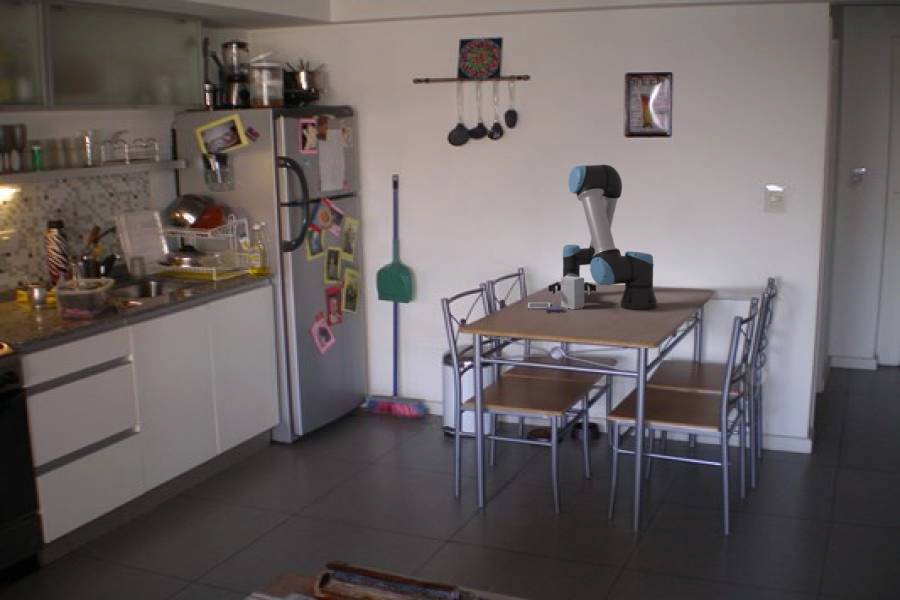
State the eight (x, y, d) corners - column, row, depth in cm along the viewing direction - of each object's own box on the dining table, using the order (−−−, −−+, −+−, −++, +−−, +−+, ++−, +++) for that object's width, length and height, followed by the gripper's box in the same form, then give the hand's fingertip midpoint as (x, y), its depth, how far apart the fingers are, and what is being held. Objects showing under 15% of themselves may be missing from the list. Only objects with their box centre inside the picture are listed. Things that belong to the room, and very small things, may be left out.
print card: (550, 304, 424) (550, 302, 424) (550, 309, 413) (550, 307, 413) (528, 304, 425) (528, 302, 425) (527, 309, 414) (527, 307, 414)
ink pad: (563, 309, 412) (563, 306, 412) (563, 312, 405) (563, 309, 405) (546, 309, 413) (546, 306, 413) (546, 312, 406) (546, 309, 406)
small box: (584, 307, 415) (584, 277, 413) (574, 309, 411) (574, 279, 409) (570, 305, 421) (570, 275, 419) (560, 307, 417) (560, 277, 415)
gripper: (600, 291, 432) (602, 300, 411) (543, 291, 435) (543, 300, 414) (600, 274, 431) (602, 282, 410) (543, 275, 433) (542, 283, 413)
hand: (572, 291), depth 412 cm, fingers open, 13 cm apart
